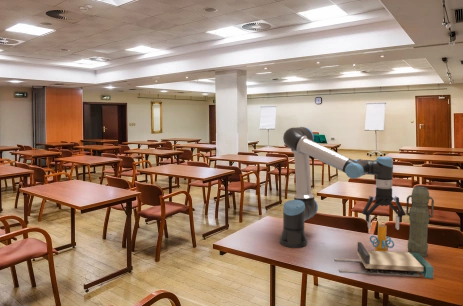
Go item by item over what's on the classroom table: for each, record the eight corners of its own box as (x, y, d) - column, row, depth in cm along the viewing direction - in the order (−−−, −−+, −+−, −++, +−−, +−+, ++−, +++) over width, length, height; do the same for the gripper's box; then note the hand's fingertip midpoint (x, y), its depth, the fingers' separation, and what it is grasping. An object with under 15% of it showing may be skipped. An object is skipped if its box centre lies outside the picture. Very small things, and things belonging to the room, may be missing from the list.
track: (339, 273, 149) (340, 262, 149) (334, 258, 165) (334, 248, 165) (432, 278, 144) (433, 267, 143) (417, 262, 160) (418, 252, 159)
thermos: (403, 249, 176) (406, 184, 173) (428, 252, 172) (432, 186, 168) (405, 255, 168) (408, 187, 165) (431, 259, 164) (435, 189, 160)
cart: (365, 272, 148) (366, 255, 147) (357, 258, 163) (357, 242, 163) (423, 276, 144) (424, 258, 144) (408, 260, 160) (409, 244, 159)
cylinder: (395, 259, 163) (396, 230, 162) (373, 258, 166) (374, 228, 164) (389, 250, 175) (390, 222, 174) (368, 248, 177) (369, 221, 176)
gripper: (360, 188, 165) (359, 230, 167) (413, 189, 162) (412, 231, 163) (356, 185, 172) (355, 225, 174) (407, 186, 169) (406, 226, 171)
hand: (383, 228), depth 169 cm, fingers open, 13 cm apart
